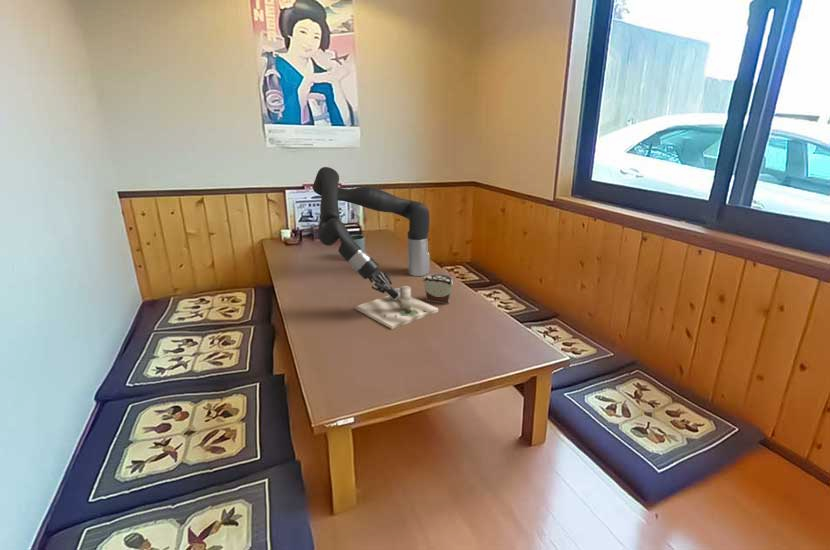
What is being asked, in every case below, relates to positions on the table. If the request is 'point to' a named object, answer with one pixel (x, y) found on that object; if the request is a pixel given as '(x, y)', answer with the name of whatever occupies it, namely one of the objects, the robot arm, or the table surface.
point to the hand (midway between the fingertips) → (396, 296)
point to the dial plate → (395, 311)
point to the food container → (438, 287)
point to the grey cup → (359, 240)
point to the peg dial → (403, 297)
